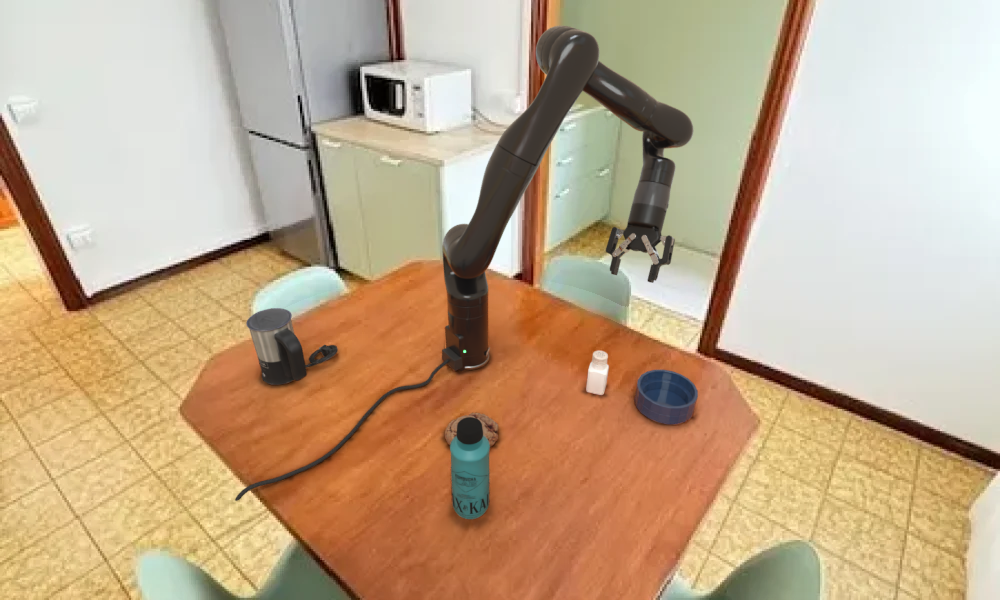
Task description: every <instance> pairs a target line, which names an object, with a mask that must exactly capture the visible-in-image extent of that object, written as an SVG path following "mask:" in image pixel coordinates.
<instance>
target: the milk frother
mask: <svg viewBox="0 0 1000 600" xmlns="http://www.w3.org/2000/svg"><path fill="white" fill-rule="evenodd" d="M292 316H293V314H292V312H291V311H290V310H288V309H285V308H281V307H272V308H271V307H270V308H267V309H263V310H259V311H257V312H255V313H253V314H252V315H250V317H248V319H247V320H246V322H245V323H246V324H245V325H246V327H247V328H248V330H249V333H250V336H251V340H252V343H253V347H254V351H255V353H256V356H257V360H258V362H259V366H260V371H261V379H262V381H263V382H265V383H266V384H268V385H273V386H280V385H286V384H288V383H292V382H293V381H300V380H303V378H306V377H307V375H308V372H307V369H308V368H311V367H315V366H317V365H320V364H321V363H324V362H326V361H329V360H330V359H332V358H333V357H334V356H336V354H337V353H338V352H339V348H338V346H337V345H335V344H328V345H327V344H323V345H322V346H319V347H318V349H317V350H315V351H314V352H312V353H311V354H310V355H309V358H308V362H309V363H308V364H306V361H305V355H304V350H303V346H302V343H301V342H300V339H299V338H298V336H297V335H296V333H295V329H294V326H293V321H292ZM320 353H321V355H322V356H323V357H320V358H316V357H317V356H318V355H319V354H320ZM315 358H316V359H315Z"/></svg>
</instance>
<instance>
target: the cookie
mask: <svg viewBox="0 0 1000 600" xmlns="http://www.w3.org/2000/svg"><path fill="white" fill-rule="evenodd" d="M467 417H474V418H477V419H478V420H480V422H481V423H482V428H483V435H484V436H485V437H486V438H487V439H488V441H489V444H490V448H491V447H492V446H494V445H495V444H496V442H497V441H498V440H499V435H498V432H499V428H500V427H499V423H498V422H497V421H496V420H494V419H493V418H492V417H490V416H488V415H486V414H485V413H480V412H470V413H469V414H464V415H461V416H459V417H456V419H451V421H450V422H449V423H448V424H447V425H446V428H445V430H444V438H445V441H446V443H447V444H448V445H449V446H450V444H451V441H452V440H453V438H454V437H455V436H456V432H457V425H458V422H459V421H460V420H462V419H463V418H467Z"/></svg>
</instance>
